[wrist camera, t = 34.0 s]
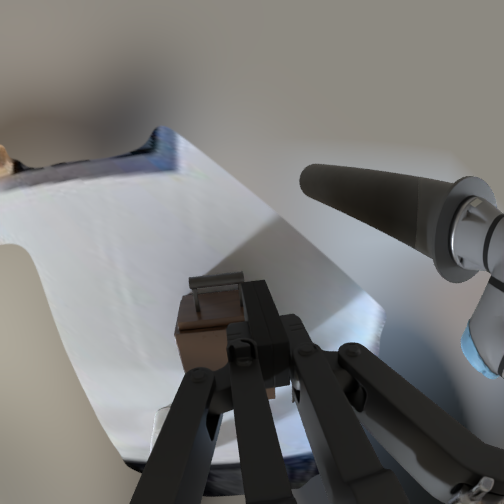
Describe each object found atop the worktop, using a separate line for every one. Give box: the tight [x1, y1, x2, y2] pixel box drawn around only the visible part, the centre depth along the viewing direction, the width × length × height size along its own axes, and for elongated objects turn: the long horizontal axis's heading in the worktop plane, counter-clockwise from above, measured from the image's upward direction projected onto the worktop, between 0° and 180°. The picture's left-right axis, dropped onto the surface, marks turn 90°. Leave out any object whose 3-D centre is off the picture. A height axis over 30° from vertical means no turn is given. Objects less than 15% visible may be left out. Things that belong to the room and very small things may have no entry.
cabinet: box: [174, 300, 275, 399], centre depth 43 cm, size 15×13×10 cm
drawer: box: [177, 271, 245, 330], centre depth 41 cm, size 18×11×8 cm, turn 4°
